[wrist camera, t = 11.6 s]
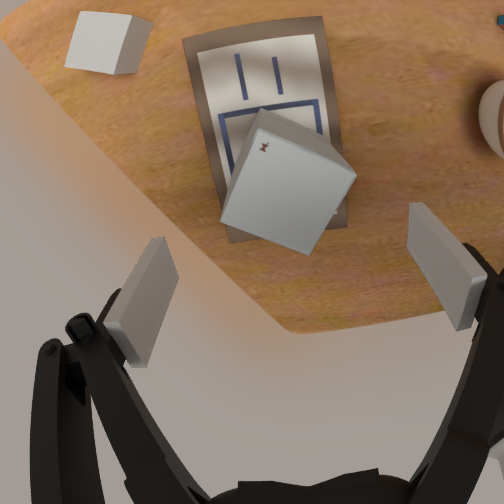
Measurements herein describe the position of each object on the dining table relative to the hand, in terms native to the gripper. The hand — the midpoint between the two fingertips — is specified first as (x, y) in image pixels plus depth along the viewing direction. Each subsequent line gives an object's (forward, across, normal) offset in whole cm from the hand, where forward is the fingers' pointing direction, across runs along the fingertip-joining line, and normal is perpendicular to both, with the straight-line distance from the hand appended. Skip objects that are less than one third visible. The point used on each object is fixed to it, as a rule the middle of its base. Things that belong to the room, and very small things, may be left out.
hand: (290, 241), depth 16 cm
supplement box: (+18, 0, 0) cm, 18 cm away
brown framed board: (+19, 0, -2) cm, 20 cm away
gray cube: (+20, +14, -16) cm, 29 cm away
